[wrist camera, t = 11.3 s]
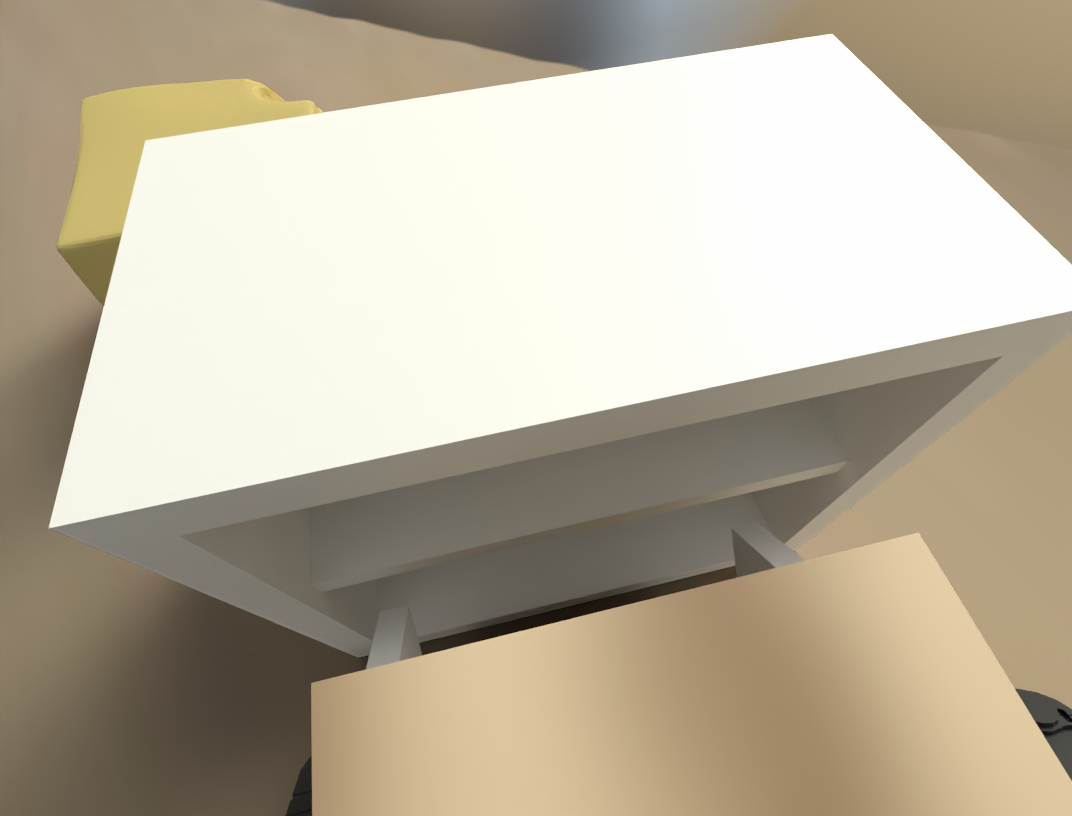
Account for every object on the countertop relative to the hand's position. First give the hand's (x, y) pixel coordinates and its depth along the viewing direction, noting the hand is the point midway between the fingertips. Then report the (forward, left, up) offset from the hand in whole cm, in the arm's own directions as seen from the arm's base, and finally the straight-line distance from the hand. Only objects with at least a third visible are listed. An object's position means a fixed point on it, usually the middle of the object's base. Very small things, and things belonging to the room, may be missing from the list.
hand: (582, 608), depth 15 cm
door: (-2, -3, -4) cm, 5 cm away
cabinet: (+2, +2, -7) cm, 7 cm away
